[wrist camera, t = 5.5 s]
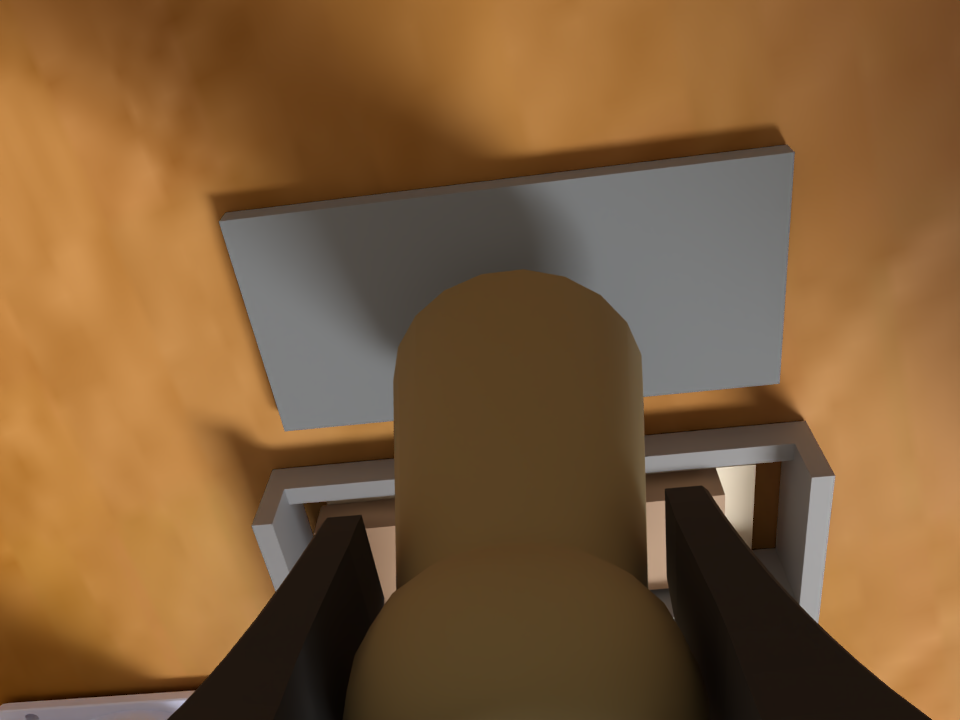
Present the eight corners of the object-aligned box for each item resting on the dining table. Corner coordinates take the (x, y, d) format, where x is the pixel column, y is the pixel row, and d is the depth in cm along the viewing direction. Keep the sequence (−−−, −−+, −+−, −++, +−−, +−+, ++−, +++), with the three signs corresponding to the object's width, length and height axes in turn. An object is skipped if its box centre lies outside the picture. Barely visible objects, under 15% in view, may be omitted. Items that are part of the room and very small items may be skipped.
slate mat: (289, 419, 24) (284, 431, 24) (225, 212, 21) (218, 221, 20) (773, 372, 23) (779, 384, 23) (787, 144, 20) (794, 152, 19)
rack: (363, 741, 32) (354, 803, 30) (272, 470, 25) (251, 525, 23) (779, 715, 31) (800, 779, 29) (805, 420, 24) (835, 475, 22)
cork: (356, 308, 19) (202, 727, 9) (614, 238, 18) (734, 631, 8) (438, 504, 22) (384, 983, 12) (665, 454, 21) (799, 934, 11)
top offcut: (347, 587, 27) (342, 615, 26) (321, 505, 25) (313, 533, 24) (715, 555, 26) (723, 583, 25) (715, 467, 24) (725, 495, 23)
